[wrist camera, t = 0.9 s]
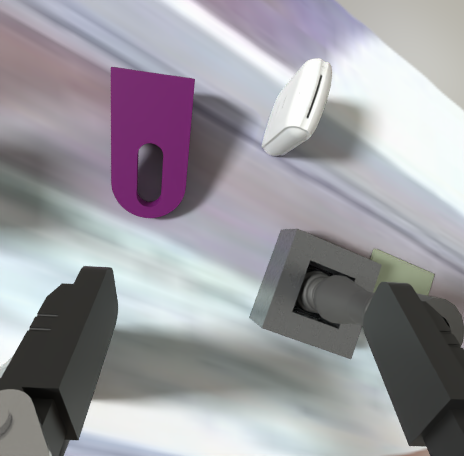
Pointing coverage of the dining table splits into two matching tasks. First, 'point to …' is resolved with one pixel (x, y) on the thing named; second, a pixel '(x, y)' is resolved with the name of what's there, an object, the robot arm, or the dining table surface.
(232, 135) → the dining table surface
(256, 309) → the socket block
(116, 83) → the mounting bracket
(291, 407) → the dining table surface
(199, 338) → the dining table surface
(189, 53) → the dining table surface
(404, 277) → the mat
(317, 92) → the photo printer
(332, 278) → the candle holder
